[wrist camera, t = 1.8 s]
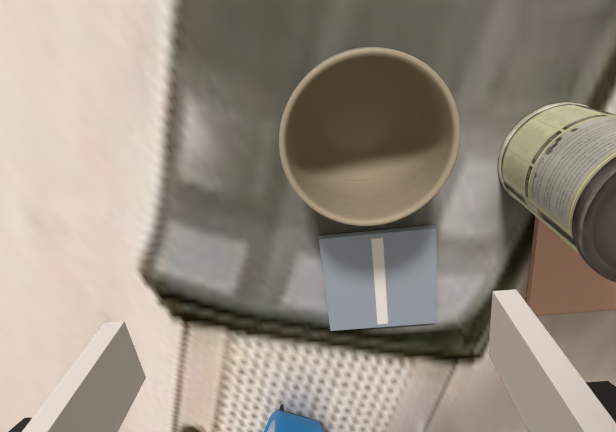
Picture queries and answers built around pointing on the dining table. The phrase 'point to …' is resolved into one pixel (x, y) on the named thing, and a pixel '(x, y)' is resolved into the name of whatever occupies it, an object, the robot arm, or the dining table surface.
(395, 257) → the pad
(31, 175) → the dining table surface
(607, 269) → the coffee can
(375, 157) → the planter
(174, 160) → the dining table surface
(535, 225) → the pad
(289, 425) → the alarm clock
